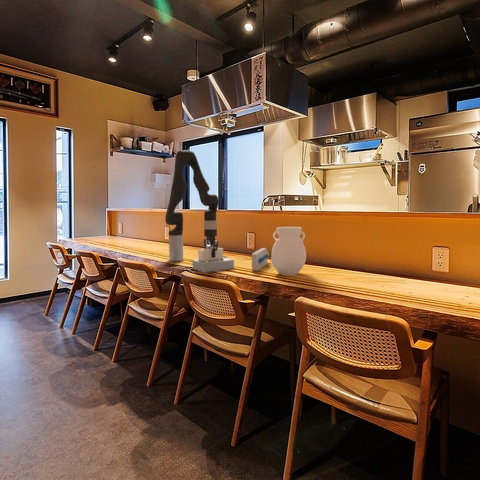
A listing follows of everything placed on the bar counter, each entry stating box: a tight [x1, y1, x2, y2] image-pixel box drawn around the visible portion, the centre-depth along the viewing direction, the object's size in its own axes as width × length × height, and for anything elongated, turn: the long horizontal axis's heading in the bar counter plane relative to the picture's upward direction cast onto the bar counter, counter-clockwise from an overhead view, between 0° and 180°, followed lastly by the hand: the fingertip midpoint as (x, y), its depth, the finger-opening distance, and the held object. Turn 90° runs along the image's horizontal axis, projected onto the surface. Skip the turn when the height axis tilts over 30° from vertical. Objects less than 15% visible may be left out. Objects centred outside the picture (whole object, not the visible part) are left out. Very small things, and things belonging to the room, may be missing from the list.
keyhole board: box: [192, 256, 235, 273], centre depth 202 cm, size 14×20×5 cm
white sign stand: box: [197, 247, 224, 262], centre depth 204 cm, size 5×14×10 cm, turn 124°
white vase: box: [270, 226, 307, 276], centre depth 184 cm, size 19×18×25 cm
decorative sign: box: [251, 247, 270, 272], centre depth 207 cm, size 32×4×10 cm, turn 163°
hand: (211, 256), depth 204 cm, fingers closed on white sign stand, 5 cm apart
